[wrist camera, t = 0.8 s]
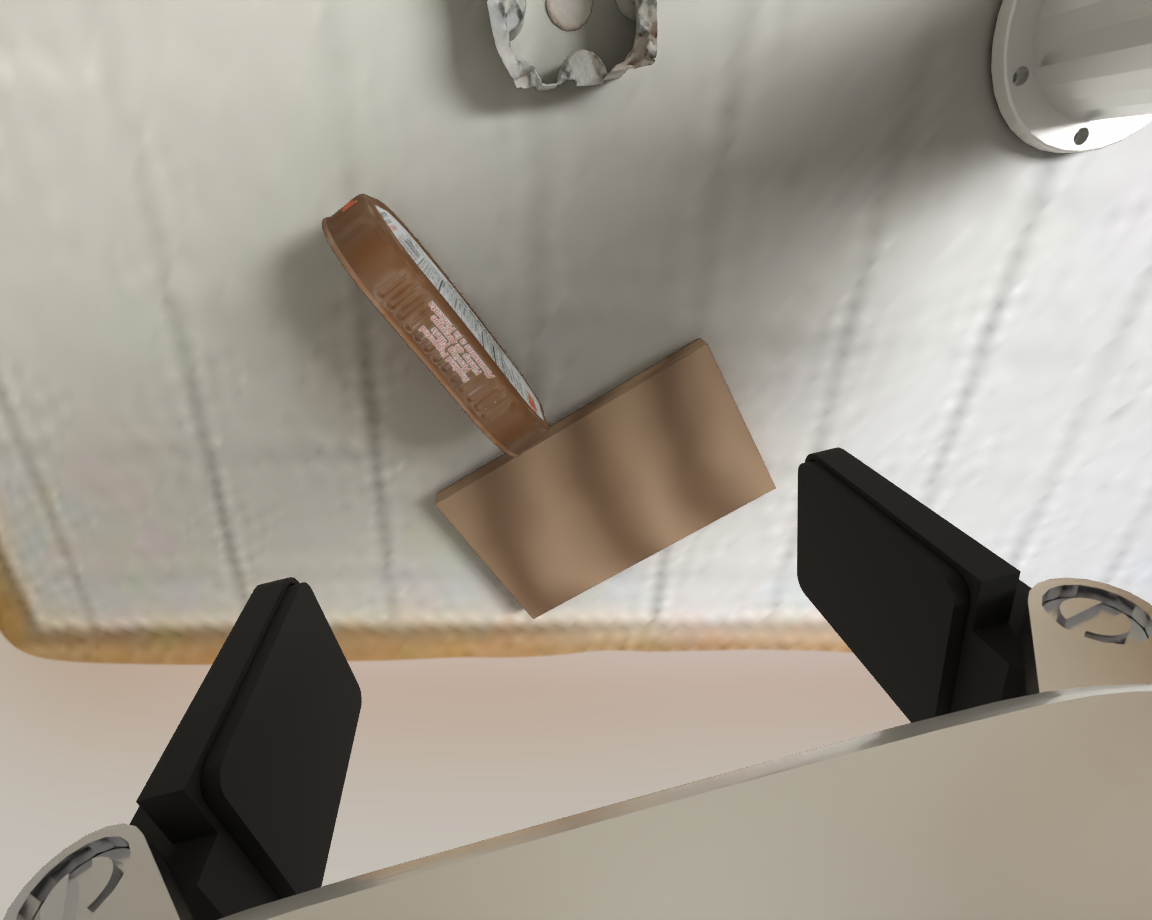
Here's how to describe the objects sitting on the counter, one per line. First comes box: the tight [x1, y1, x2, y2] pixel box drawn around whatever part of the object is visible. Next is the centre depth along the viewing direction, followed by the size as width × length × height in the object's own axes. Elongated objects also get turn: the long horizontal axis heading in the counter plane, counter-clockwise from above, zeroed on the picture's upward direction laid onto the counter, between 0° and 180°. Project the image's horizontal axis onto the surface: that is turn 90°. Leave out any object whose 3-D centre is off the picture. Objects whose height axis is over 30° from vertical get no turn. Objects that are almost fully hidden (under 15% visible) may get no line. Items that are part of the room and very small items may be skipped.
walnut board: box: [435, 338, 776, 619], centre depth 39 cm, size 20×12×2 cm, turn 121°
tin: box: [322, 194, 549, 457], centre depth 29 cm, size 15×3×8 cm, turn 35°
